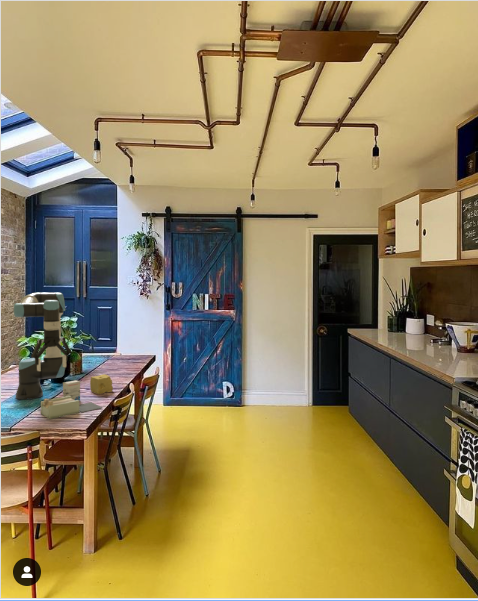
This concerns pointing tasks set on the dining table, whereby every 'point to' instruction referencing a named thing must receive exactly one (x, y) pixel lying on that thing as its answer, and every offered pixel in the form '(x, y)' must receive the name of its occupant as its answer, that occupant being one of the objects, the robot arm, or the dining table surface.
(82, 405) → the rubber mat
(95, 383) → the cheese
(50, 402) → the cover plate
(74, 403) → the sage box
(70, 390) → the ink box
